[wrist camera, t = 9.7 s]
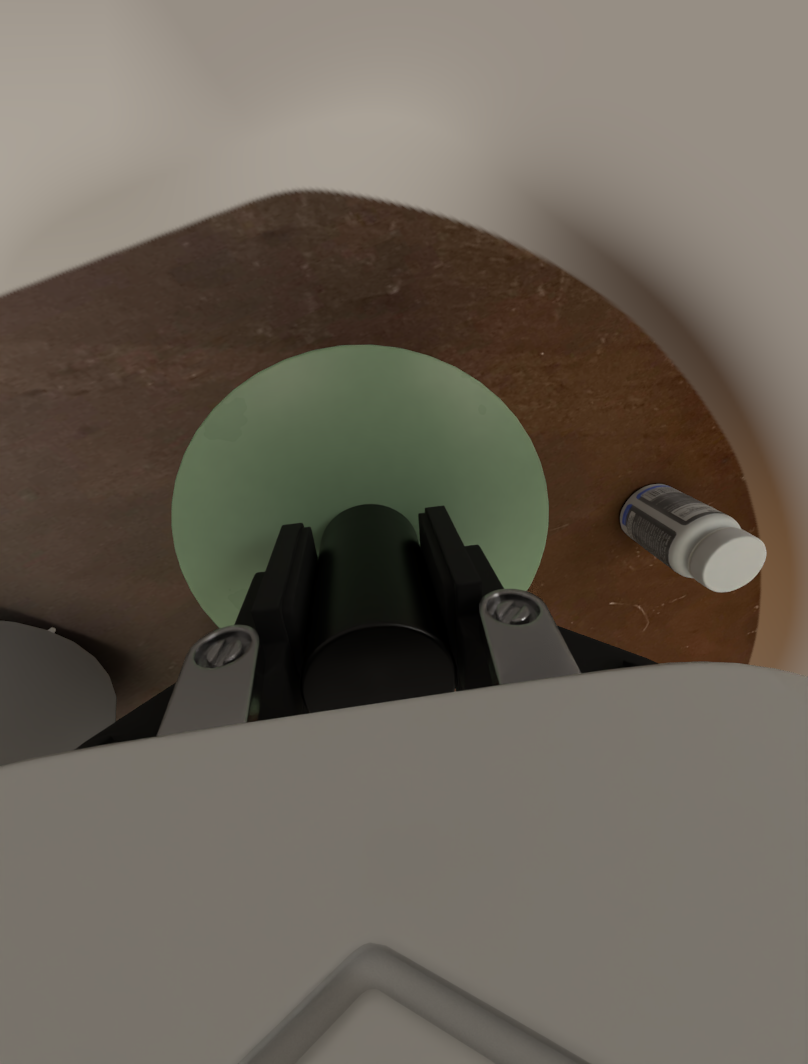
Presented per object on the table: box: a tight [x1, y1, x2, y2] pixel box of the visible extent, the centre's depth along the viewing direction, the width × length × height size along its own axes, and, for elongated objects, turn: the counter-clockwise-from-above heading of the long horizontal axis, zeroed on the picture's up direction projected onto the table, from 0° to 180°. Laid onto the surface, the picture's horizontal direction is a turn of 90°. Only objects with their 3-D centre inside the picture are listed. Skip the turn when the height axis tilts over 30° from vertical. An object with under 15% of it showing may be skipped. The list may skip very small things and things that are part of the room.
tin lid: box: [172, 344, 549, 713], centre depth 11 cm, size 11×11×7 cm
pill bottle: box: [620, 484, 766, 592], centre depth 29 cm, size 5×5×8 cm
